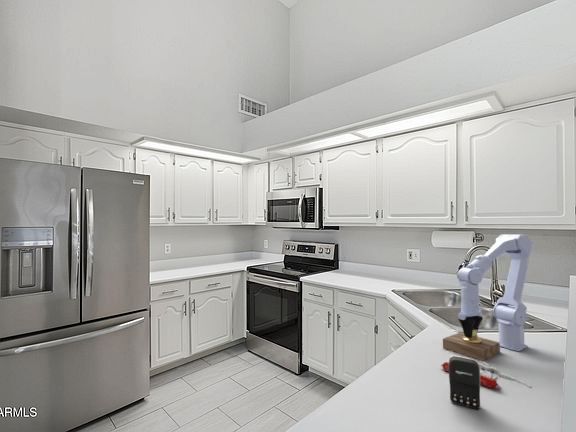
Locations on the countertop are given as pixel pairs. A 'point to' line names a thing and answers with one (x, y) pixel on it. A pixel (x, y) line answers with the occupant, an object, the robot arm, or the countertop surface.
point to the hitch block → (471, 347)
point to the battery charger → (464, 381)
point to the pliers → (491, 369)
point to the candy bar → (483, 378)
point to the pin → (473, 339)
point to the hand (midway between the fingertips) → (470, 336)
